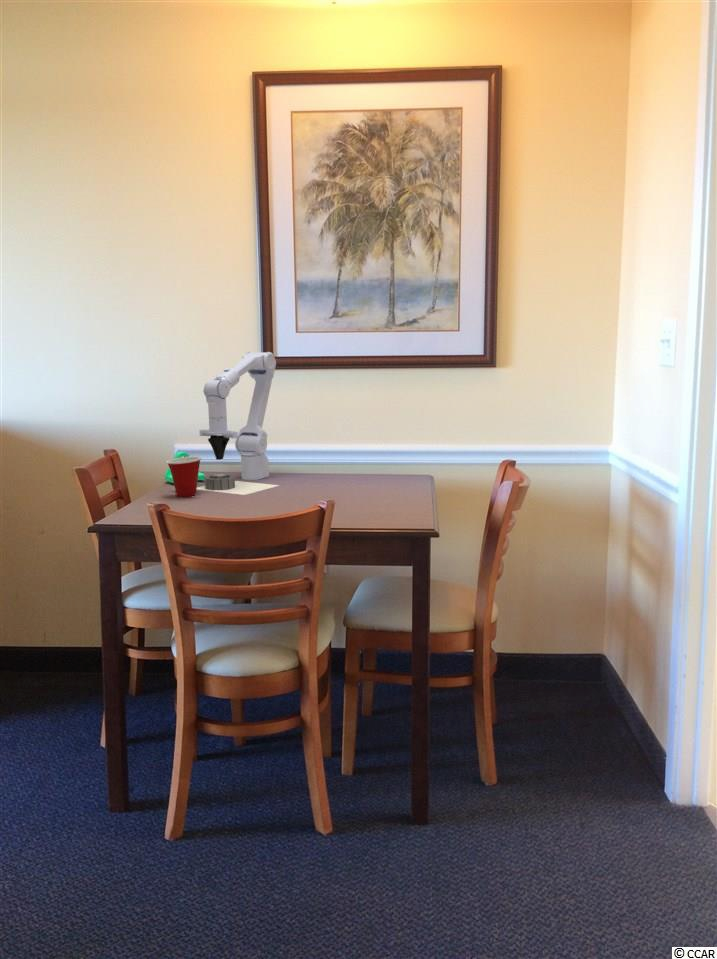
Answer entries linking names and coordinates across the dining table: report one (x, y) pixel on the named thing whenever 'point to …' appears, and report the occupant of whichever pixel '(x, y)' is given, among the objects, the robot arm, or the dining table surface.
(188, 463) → the plastic cup
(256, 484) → the board
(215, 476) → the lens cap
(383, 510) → the dining table surface
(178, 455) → the camera mount
